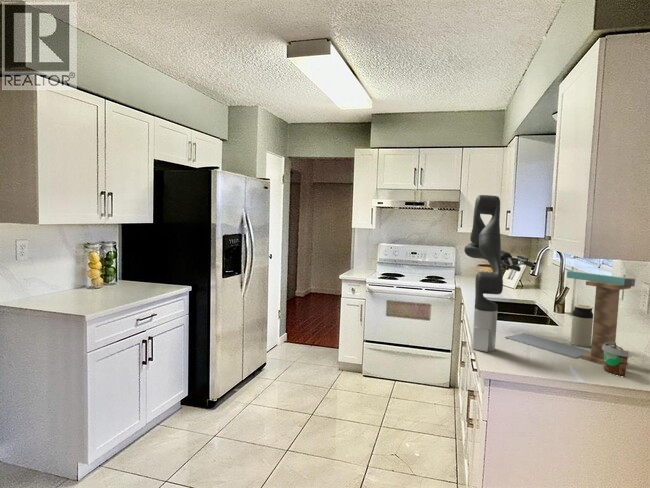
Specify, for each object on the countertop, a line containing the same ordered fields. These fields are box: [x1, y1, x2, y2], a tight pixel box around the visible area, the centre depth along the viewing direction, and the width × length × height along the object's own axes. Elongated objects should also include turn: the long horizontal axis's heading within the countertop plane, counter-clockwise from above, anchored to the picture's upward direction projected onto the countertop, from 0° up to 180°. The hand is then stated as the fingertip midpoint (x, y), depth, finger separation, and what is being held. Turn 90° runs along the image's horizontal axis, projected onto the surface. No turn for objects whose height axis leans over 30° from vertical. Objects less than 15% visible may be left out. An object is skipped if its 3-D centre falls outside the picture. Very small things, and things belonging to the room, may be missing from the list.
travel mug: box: [570, 303, 594, 348], centre depth 186 cm, size 8×8×18 cm
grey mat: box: [504, 332, 591, 359], centre depth 184 cm, size 32×16×1 cm, turn 32°
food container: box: [602, 341, 630, 378], centre depth 153 cm, size 12×6×10 cm, turn 163°
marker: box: [566, 270, 636, 288], centre depth 166 cm, size 24×3×3 cm, turn 32°
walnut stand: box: [580, 280, 632, 366], centre depth 164 cm, size 12×11×32 cm
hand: (526, 267), depth 190 cm, fingers open, 8 cm apart
